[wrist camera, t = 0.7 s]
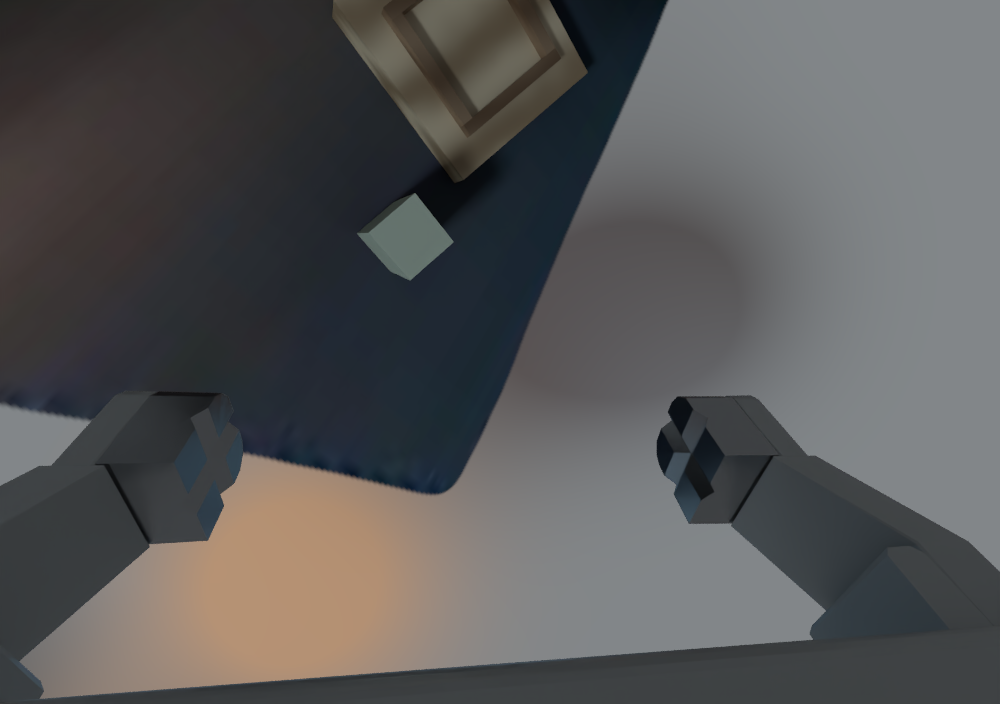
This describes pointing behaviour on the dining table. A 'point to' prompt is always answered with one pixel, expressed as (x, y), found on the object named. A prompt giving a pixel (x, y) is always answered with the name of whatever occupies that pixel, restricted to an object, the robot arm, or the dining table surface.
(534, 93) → the plinth
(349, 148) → the dining table surface
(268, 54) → the dining table surface
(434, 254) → the sage block
